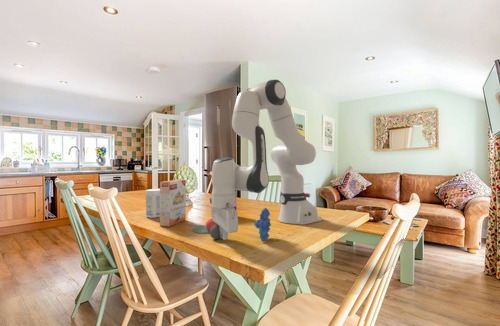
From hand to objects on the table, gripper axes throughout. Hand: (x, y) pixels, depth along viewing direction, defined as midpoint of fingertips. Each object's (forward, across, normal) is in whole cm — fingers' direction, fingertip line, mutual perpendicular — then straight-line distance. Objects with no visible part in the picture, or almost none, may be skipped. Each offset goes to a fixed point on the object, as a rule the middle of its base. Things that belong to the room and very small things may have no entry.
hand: (224, 238), depth 93 cm
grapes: (+2, -3, -15) cm, 15 cm away
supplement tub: (+2, +58, +20) cm, 61 cm away
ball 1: (-1, +16, 0) cm, 16 cm away
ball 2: (-1, +6, +1) cm, 6 cm away
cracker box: (+2, +38, +13) cm, 40 cm away
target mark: (+2, +20, 0) cm, 21 cm away
